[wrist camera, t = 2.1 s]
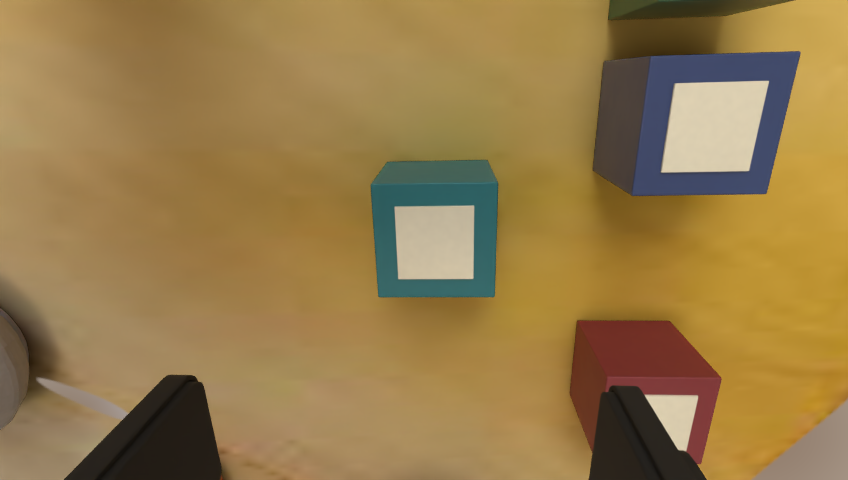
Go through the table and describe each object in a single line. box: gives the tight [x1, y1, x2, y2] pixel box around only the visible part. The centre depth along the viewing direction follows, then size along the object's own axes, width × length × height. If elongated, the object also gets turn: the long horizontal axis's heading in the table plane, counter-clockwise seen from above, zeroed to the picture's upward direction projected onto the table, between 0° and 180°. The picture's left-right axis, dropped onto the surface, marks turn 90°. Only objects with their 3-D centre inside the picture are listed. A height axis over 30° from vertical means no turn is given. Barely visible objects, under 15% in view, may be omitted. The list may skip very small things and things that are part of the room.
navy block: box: [593, 51, 800, 196], centre depth 20 cm, size 5×5×6 cm
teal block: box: [371, 160, 498, 297], centre depth 22 cm, size 5×5×6 cm
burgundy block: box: [570, 321, 721, 464], centre depth 25 cm, size 5×5×6 cm
